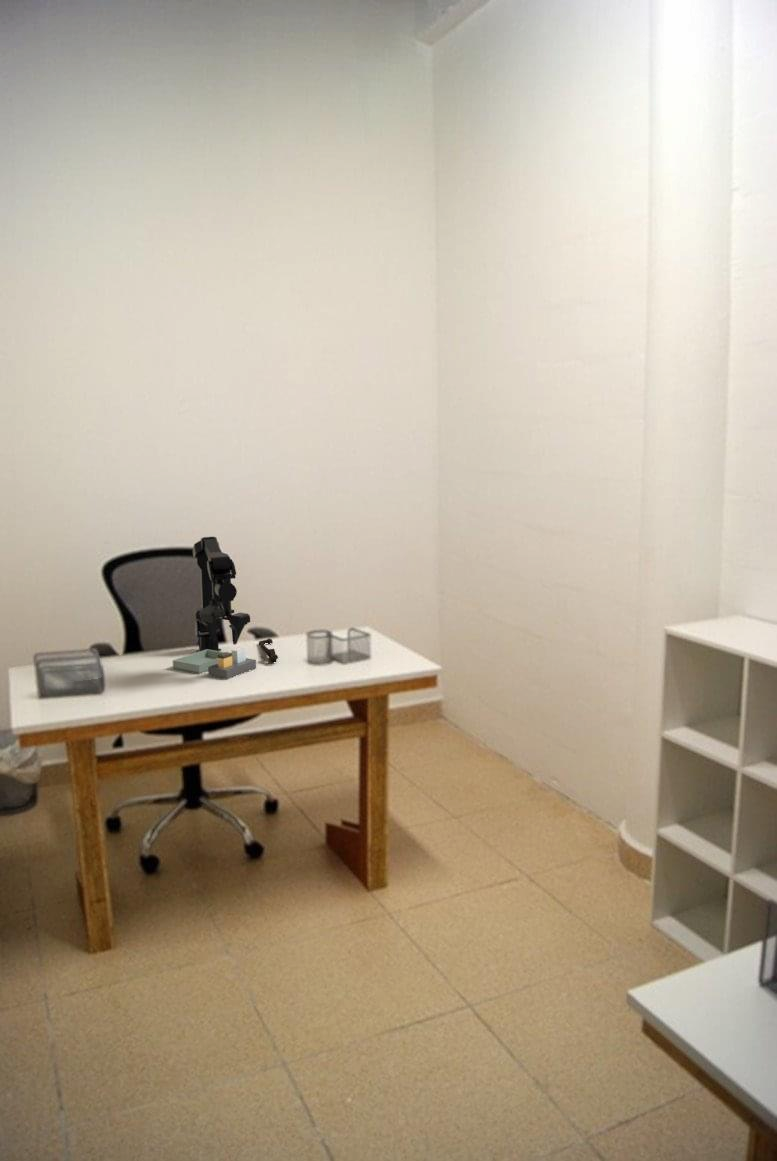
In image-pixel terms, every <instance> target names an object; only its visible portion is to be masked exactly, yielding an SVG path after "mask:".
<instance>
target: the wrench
mask: <svg viewBox="0 0 777 1161" xmlns="http://www.w3.org/2000/svg"><path fill="white" fill-rule="evenodd" d="M265 643H268V644H270V643H272V644H274V643H273V640H272V638H267V639H263V640H259V641H258V645H259V647H260V648H261V647H262V648H261V649H262V650H263V652H264V653H265V654H266V655H267V656H268V660H269V661H271V662H272V663H271V662H270V663H271V664H275V663H274V662H277V659H279V656H278V655H277V653H276V652H275V650H276V649H275V648H270V649H269V647H267V646H266V645H264V644H265ZM268 644H267V645H268ZM270 645H271V644H270Z"/></svg>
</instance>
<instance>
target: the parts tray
mask: <svg viewBox="0 0 777 1161" xmlns="http://www.w3.org/2000/svg"><path fill="white" fill-rule="evenodd" d="M225 652H226V651H214V650H208V649H206V650H203V651H200V652H194V653H190V654H188V655H185V656H182V657H179V658H176V659H173V660H172V668H173V670H177V671H181V670H182V671H181V672H186V671H187V673H191V672H193V673H192V674H196V673H201V674H203V673H202V672H204V673H206V672H205V671H207V672H208V667H209V666H212V665H215V664H218V655H219V654H222V653H225Z"/></svg>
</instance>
